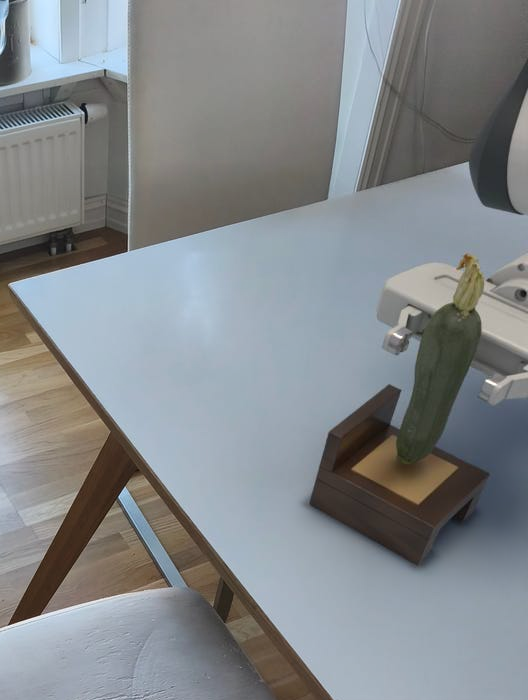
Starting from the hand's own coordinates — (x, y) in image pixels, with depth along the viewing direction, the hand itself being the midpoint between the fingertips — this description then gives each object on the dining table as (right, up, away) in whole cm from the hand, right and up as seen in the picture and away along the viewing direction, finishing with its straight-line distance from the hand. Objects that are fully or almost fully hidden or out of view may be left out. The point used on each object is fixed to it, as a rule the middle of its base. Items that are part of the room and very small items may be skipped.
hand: (437, 368), depth 73 cm
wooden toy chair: (+1, -10, +13) cm, 16 cm away
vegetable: (+1, -6, +9) cm, 11 cm away
